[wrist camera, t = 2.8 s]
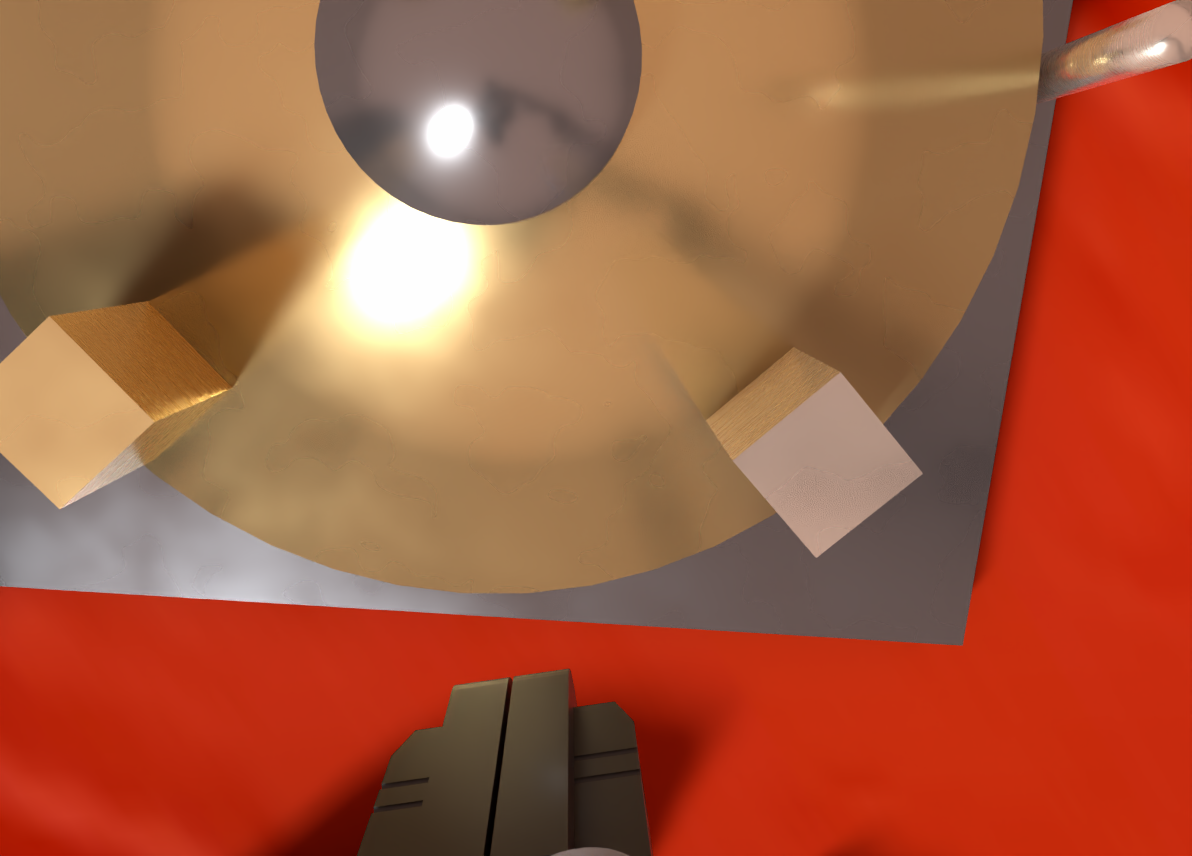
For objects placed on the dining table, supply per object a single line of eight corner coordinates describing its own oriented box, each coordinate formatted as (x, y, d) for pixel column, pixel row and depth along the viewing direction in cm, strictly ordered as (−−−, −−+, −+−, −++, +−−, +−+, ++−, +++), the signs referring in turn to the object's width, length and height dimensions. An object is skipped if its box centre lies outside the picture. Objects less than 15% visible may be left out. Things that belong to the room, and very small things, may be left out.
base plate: (1119, -463, 20) (1430, -867, 13) (940, 621, 25) (1085, 778, 18) (-70, -581, 19) (-472, -1085, 12) (8, 564, 25) (-235, 703, 17)
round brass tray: (-195, 38, 20) (-555, -54, 14) (540, -755, 17) (515, -1332, 11) (469, 709, 24) (429, 882, 17) (1162, 145, 21) (1415, 106, 15)
